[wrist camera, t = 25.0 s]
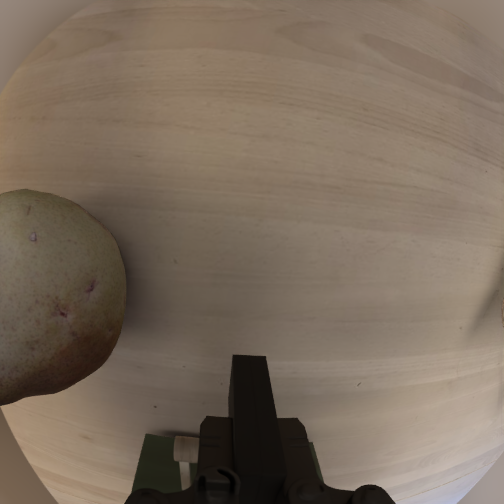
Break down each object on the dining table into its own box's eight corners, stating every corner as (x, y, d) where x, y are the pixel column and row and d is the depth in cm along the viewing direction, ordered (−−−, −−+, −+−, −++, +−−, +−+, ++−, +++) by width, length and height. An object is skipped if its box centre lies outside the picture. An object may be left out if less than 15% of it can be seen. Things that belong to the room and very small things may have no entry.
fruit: (7, 282, 17) (-102, 365, 5) (35, 158, 15) (-121, 176, 3) (121, 351, 19) (54, 496, 7) (172, 227, 17) (71, 345, 5)
